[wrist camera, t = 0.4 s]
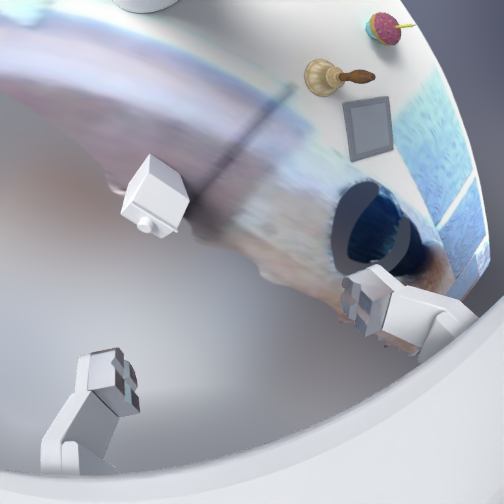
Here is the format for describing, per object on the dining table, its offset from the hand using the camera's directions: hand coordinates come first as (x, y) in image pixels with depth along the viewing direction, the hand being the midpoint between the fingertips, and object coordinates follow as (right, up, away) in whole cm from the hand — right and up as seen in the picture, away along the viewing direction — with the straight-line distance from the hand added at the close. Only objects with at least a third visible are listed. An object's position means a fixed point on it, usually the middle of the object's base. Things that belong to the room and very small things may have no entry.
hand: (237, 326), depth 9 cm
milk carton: (-18, +16, +40) cm, 47 cm away
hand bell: (+15, +38, +40) cm, 57 cm away
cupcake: (+28, +53, +36) cm, 70 cm away
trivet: (+28, +32, +48) cm, 64 cm away
